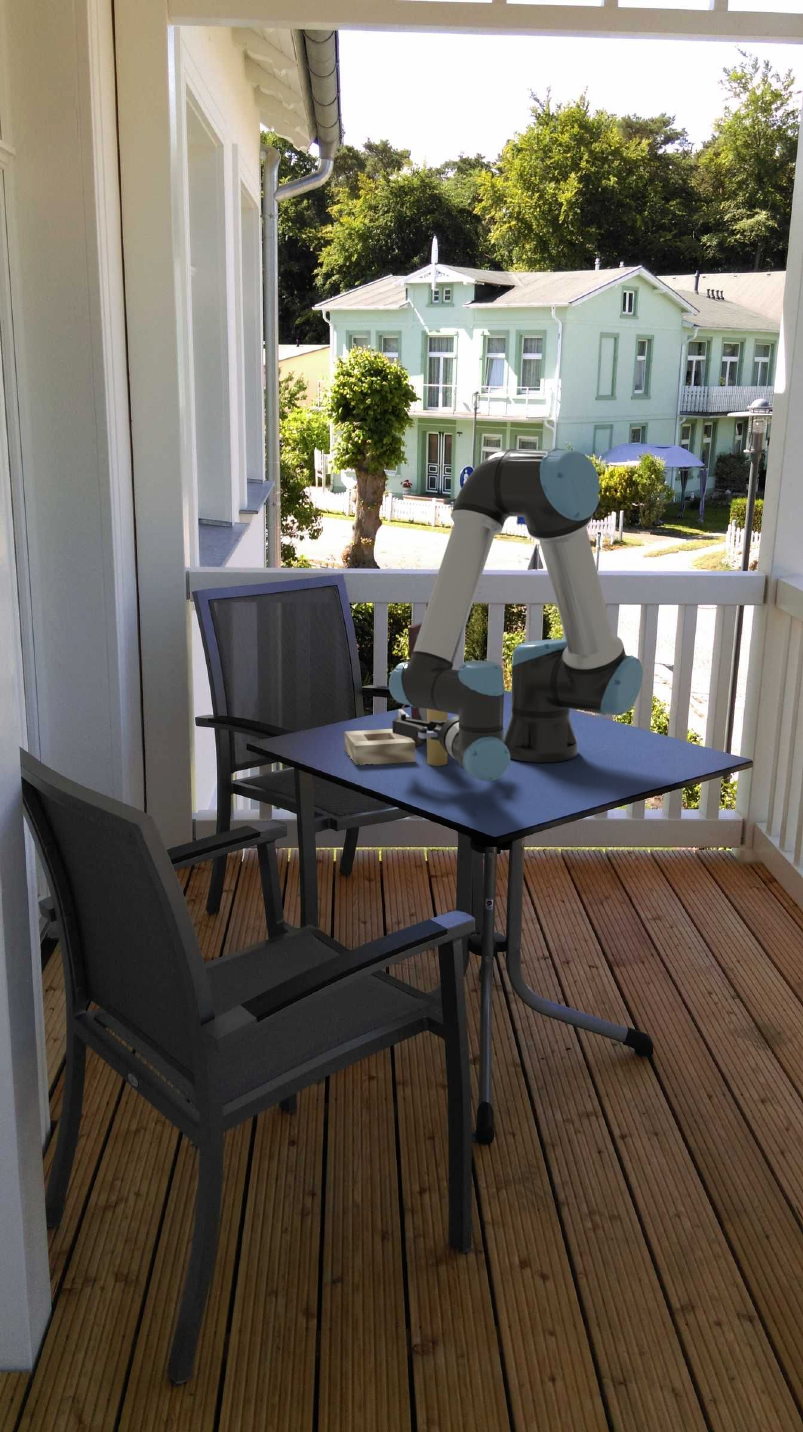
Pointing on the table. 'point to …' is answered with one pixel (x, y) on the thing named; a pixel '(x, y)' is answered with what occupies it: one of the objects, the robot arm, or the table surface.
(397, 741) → the socket block
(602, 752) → the table surface
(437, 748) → the peg
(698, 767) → the table surface
